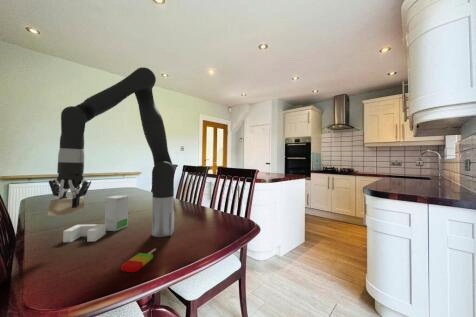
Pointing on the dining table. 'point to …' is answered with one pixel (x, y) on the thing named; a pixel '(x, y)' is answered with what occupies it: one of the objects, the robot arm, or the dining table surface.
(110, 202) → the skincare box
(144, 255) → the popsicle
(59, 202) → the beige wooden block
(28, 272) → the dining table surface
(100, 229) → the end cap
